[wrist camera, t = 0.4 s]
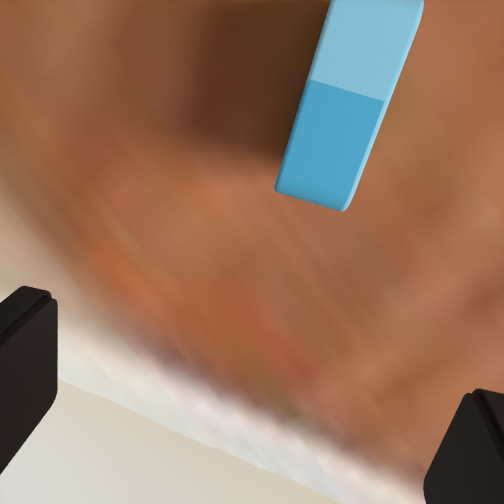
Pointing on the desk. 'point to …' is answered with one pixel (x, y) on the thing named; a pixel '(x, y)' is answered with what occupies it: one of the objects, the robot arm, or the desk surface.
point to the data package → (346, 98)
